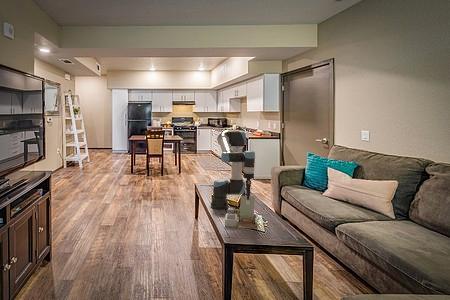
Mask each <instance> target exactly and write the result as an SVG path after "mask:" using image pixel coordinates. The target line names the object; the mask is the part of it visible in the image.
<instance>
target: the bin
mask: <svg viewBox="0 0 450 300" xmlns="http://www.w3.org/2000/svg"><path fill="white" fill-rule="evenodd" d="M224 227H225V228H227V227H229V228H237V213H225V218H224Z"/></svg>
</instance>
